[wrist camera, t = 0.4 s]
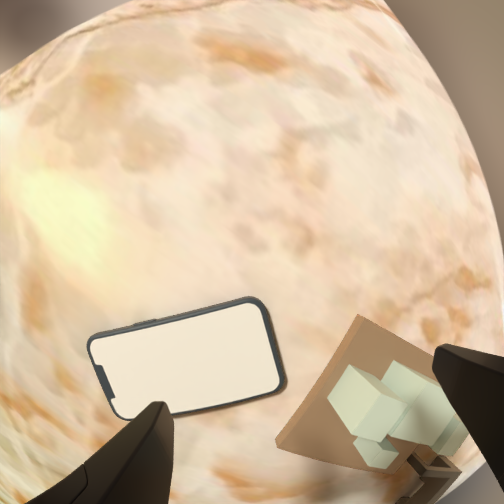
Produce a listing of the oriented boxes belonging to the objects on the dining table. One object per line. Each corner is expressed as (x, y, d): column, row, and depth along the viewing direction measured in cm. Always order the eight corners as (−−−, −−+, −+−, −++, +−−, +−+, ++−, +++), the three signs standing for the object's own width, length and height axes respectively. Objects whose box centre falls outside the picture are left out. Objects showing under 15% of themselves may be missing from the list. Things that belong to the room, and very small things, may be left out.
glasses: (445, 456, 24) (462, 471, 20) (391, 514, 24) (403, 532, 19) (408, 450, 24) (426, 469, 19) (348, 513, 23) (359, 534, 19)
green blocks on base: (388, 467, 24) (415, 503, 16) (275, 439, 23) (287, 490, 15) (456, 370, 24) (499, 391, 17) (357, 314, 23) (402, 335, 16)
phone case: (259, 290, 24) (88, 332, 22) (261, 292, 22) (81, 336, 21) (285, 383, 24) (122, 415, 22) (288, 391, 22) (117, 423, 21)
